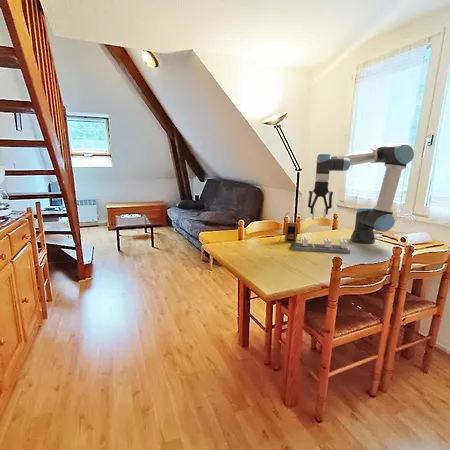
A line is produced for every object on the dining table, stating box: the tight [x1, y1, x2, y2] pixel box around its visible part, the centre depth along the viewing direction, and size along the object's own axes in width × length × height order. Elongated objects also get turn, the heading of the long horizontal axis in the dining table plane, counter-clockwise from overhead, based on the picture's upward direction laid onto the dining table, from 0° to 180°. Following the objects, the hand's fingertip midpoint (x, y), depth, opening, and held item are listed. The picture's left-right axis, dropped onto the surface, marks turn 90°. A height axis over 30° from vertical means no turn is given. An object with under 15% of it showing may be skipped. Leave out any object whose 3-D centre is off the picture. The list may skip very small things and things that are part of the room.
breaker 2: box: [323, 238, 332, 248], centre depth 178 cm, size 3×5×4 cm, turn 171°
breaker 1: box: [301, 237, 309, 246], centre depth 180 cm, size 3×5×4 cm, turn 171°
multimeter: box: [279, 212, 303, 243], centre depth 196 cm, size 15×10×20 cm
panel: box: [290, 242, 351, 254], centre depth 180 cm, size 34×10×2 cm, turn 81°
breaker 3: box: [339, 239, 348, 249], centre depth 177 cm, size 3×5×4 cm, turn 171°
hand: (318, 219), depth 176 cm, fingers open, 6 cm apart
